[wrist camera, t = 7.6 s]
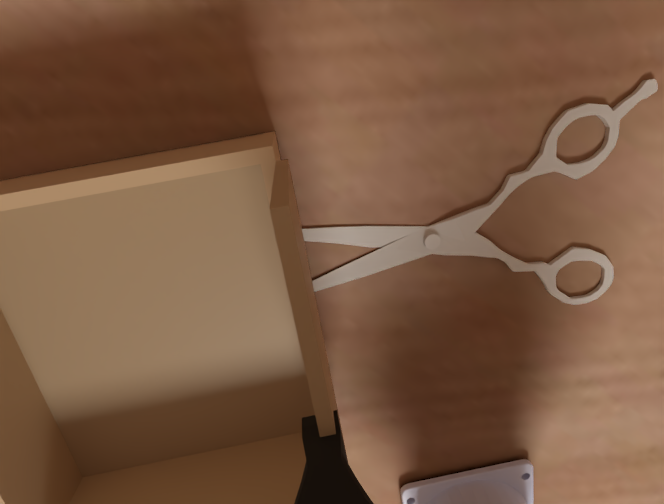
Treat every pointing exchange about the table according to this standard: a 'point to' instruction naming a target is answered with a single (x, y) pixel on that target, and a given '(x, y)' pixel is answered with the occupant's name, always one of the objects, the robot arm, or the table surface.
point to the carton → (149, 333)
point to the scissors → (485, 217)
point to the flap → (302, 297)
